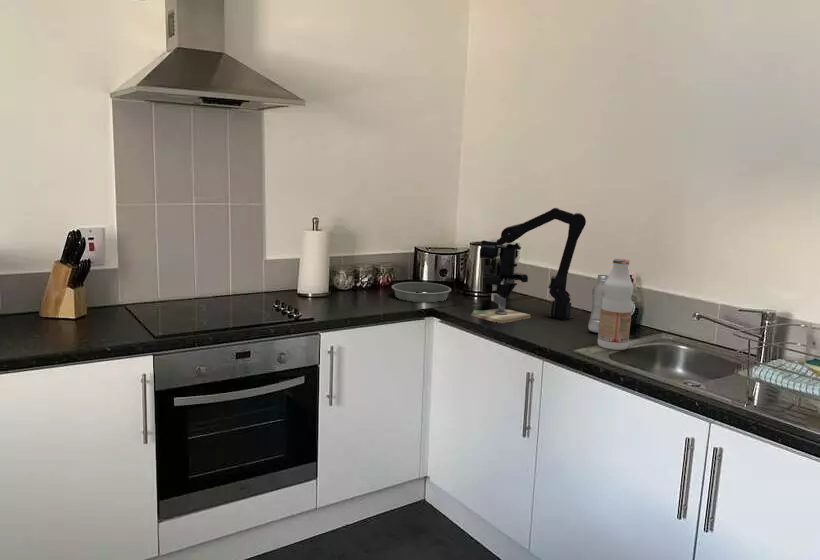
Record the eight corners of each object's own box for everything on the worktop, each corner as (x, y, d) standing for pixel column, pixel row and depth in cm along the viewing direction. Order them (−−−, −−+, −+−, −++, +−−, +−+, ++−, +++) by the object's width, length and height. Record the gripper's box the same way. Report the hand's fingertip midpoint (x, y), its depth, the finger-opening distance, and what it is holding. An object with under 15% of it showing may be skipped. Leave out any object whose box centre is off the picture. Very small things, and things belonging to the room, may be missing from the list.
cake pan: (392, 290, 295) (392, 280, 295) (449, 293, 295) (449, 283, 295) (390, 302, 271) (390, 291, 270) (452, 305, 271) (452, 294, 270)
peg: (506, 311, 252) (506, 299, 251) (499, 310, 251) (500, 299, 251) (496, 304, 262) (497, 293, 261) (490, 304, 262) (491, 293, 261)
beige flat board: (530, 318, 254) (530, 312, 254) (499, 323, 242) (499, 318, 242) (496, 309, 266) (497, 304, 266) (465, 314, 254) (466, 309, 254)
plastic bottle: (592, 329, 241) (598, 273, 238) (610, 333, 237) (616, 276, 233) (584, 332, 236) (589, 275, 233) (603, 336, 232) (608, 277, 229)
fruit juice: (597, 348, 216) (605, 260, 211) (597, 341, 225) (605, 256, 220) (628, 351, 213) (637, 262, 209) (627, 344, 222) (636, 259, 218)
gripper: (509, 256, 270) (506, 295, 273) (474, 258, 259) (471, 299, 261) (530, 260, 261) (527, 300, 264) (495, 262, 250) (492, 304, 253)
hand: (504, 301), depth 261 cm, fingers closed
